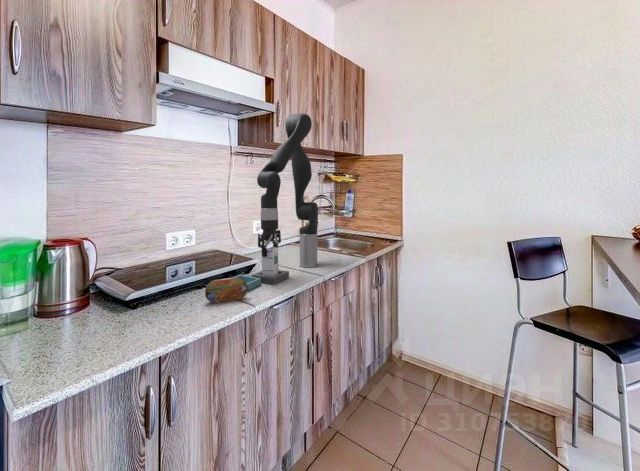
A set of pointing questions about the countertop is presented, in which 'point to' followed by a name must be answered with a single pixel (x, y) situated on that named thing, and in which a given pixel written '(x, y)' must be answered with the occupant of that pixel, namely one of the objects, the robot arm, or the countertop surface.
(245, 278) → the parts tray
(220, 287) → the tin
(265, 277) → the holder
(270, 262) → the syrup box
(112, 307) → the countertop surface
